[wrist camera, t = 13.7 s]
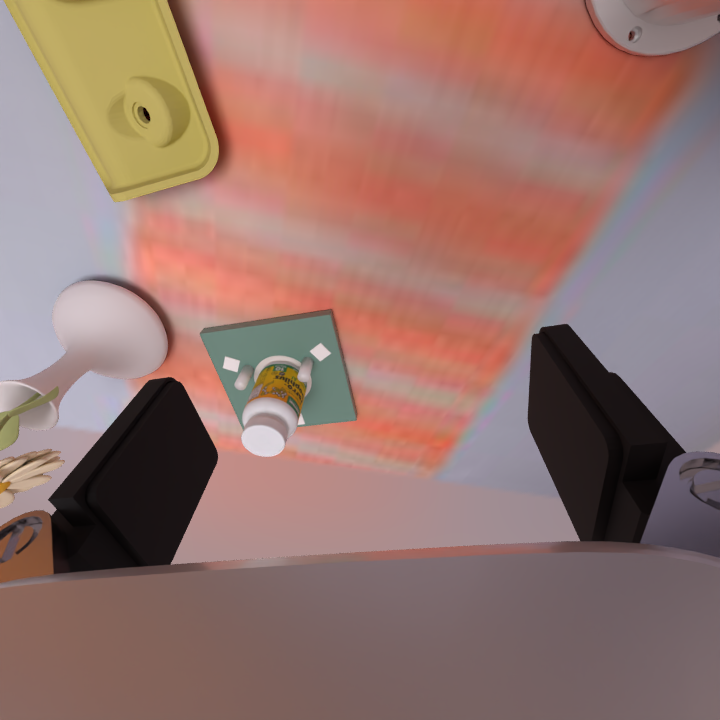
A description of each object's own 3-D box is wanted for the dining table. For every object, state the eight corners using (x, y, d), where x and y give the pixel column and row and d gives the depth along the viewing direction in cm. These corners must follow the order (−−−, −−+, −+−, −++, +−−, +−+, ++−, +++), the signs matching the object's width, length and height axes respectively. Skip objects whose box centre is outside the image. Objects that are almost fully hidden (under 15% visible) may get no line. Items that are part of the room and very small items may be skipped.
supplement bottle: (250, 379, 44) (221, 440, 36) (279, 350, 42) (255, 408, 34) (288, 406, 46) (268, 470, 38) (318, 380, 44) (304, 442, 36)
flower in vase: (115, 380, 47) (-102, 604, 26) (41, 296, 41) (-312, 495, 20) (208, 347, 44) (47, 571, 23) (141, 251, 38) (-152, 432, 17)
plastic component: (229, 170, 32) (99, 208, 30) (218, 162, 38) (108, 192, 35) (78, -245, 20) (-154, -234, 18) (95, -165, 26) (-78, -149, 24)
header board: (331, 309, 41) (326, 328, 37) (357, 413, 48) (355, 438, 44) (203, 328, 42) (187, 348, 39) (247, 426, 50) (237, 450, 46)
